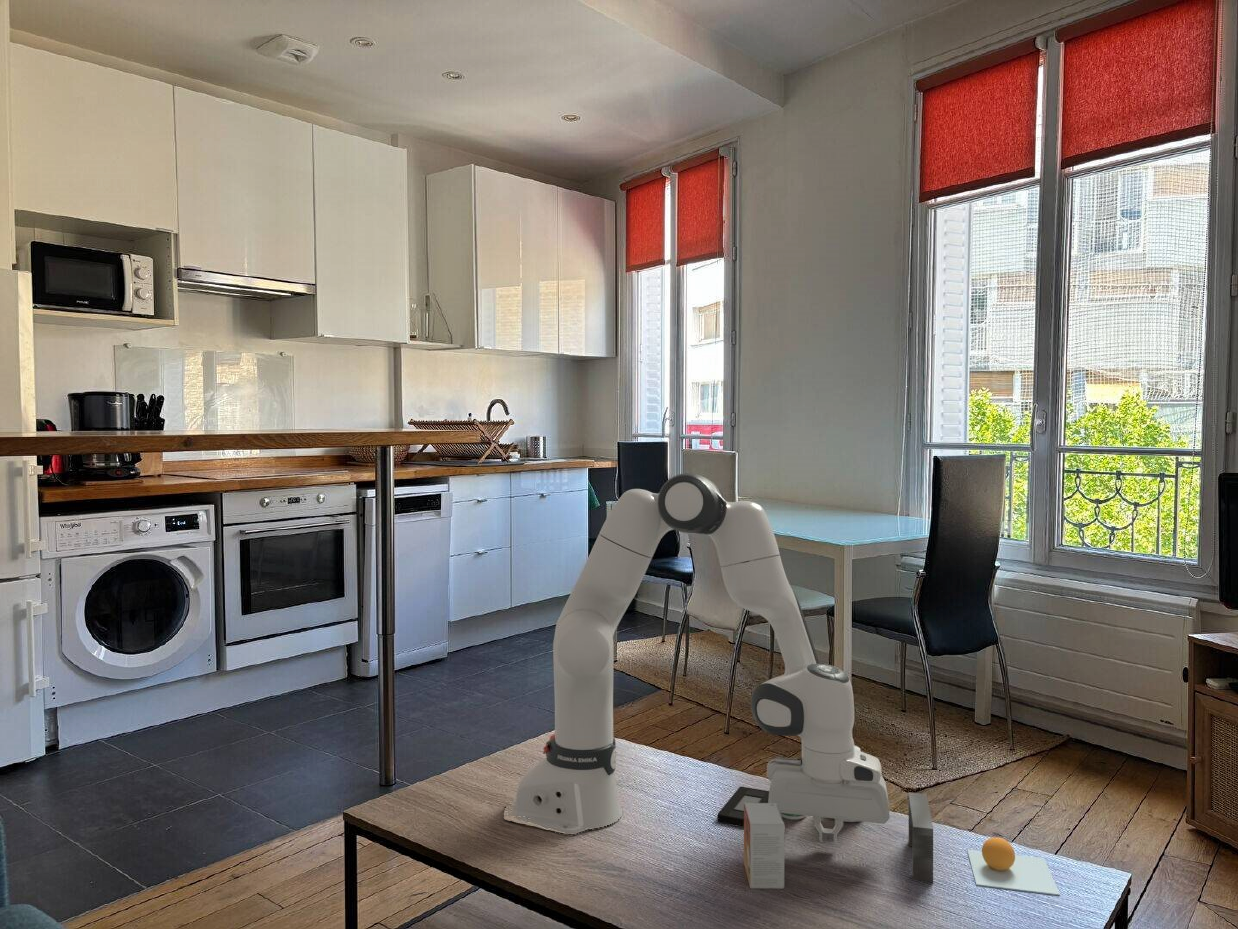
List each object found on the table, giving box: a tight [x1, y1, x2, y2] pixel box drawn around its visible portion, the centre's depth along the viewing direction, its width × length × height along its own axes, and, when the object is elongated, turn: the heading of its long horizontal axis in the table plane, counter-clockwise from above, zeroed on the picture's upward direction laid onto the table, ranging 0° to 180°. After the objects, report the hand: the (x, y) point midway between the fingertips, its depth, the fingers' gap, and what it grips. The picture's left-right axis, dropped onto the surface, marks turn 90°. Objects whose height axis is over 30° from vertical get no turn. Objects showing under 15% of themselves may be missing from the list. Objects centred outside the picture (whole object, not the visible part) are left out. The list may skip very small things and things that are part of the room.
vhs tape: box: [717, 785, 769, 828], centre depth 163 cm, size 8×14×2 cm, turn 155°
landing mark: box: [966, 848, 1061, 897], centre depth 139 cm, size 12×12×1 cm
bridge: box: [908, 792, 934, 884], centre depth 143 cm, size 3×14×9 cm, turn 164°
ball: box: [981, 836, 1016, 871], centre depth 140 cm, size 5×5×5 cm
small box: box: [743, 803, 786, 890], centre depth 138 cm, size 8×6×10 cm
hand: (828, 841), depth 147 cm, fingers closed
